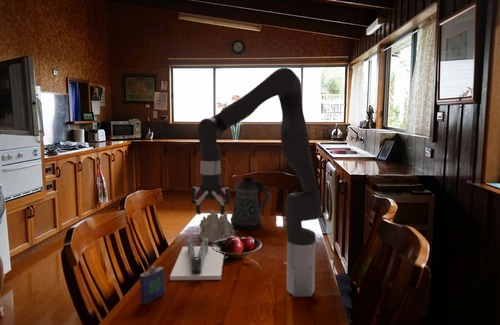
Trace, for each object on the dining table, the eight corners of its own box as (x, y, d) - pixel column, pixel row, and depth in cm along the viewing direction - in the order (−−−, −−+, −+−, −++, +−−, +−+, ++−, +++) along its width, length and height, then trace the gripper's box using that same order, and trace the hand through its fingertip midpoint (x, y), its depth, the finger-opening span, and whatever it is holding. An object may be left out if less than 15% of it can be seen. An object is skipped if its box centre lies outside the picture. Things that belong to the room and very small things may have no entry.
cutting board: (220, 279, 139) (220, 275, 139) (170, 280, 139) (170, 276, 139) (224, 249, 169) (224, 246, 169) (182, 249, 169) (182, 246, 168)
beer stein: (225, 223, 207) (224, 177, 203) (257, 219, 216) (257, 174, 212) (239, 232, 192) (239, 182, 189) (273, 226, 201) (273, 178, 198)
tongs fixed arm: (202, 273, 140) (201, 260, 139) (190, 274, 140) (190, 260, 139) (208, 248, 166) (208, 236, 165) (198, 248, 166) (198, 237, 165)
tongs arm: (195, 269, 144) (195, 257, 143) (190, 270, 143) (189, 257, 143) (192, 248, 165) (192, 237, 165) (187, 249, 165) (187, 238, 164)
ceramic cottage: (237, 239, 181) (235, 207, 180) (202, 244, 176) (199, 212, 175) (229, 232, 196) (227, 202, 195) (197, 236, 191) (194, 206, 190)
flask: (161, 291, 131) (160, 260, 129) (167, 293, 129) (166, 262, 127) (138, 302, 123) (137, 270, 122) (144, 305, 121) (143, 272, 120)
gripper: (189, 173, 142) (190, 217, 144) (228, 174, 142) (228, 217, 144) (193, 170, 149) (193, 211, 152) (230, 170, 149) (230, 211, 152)
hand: (210, 214), depth 148 cm, fingers open, 8 cm apart
